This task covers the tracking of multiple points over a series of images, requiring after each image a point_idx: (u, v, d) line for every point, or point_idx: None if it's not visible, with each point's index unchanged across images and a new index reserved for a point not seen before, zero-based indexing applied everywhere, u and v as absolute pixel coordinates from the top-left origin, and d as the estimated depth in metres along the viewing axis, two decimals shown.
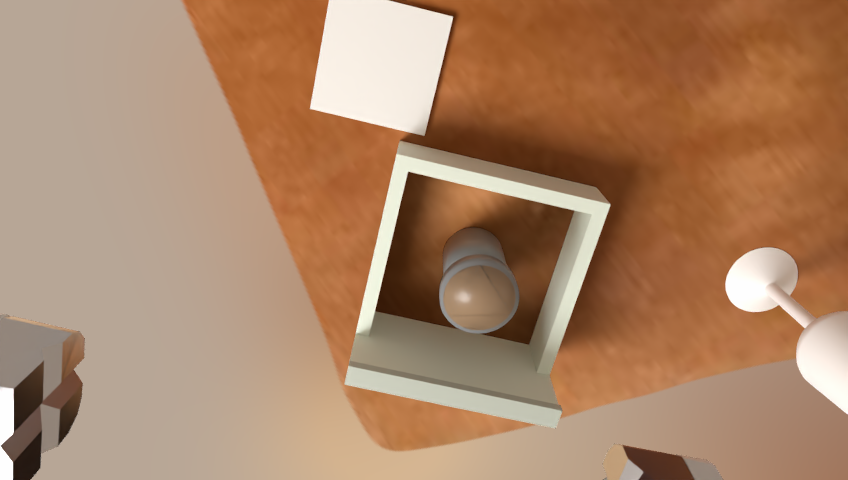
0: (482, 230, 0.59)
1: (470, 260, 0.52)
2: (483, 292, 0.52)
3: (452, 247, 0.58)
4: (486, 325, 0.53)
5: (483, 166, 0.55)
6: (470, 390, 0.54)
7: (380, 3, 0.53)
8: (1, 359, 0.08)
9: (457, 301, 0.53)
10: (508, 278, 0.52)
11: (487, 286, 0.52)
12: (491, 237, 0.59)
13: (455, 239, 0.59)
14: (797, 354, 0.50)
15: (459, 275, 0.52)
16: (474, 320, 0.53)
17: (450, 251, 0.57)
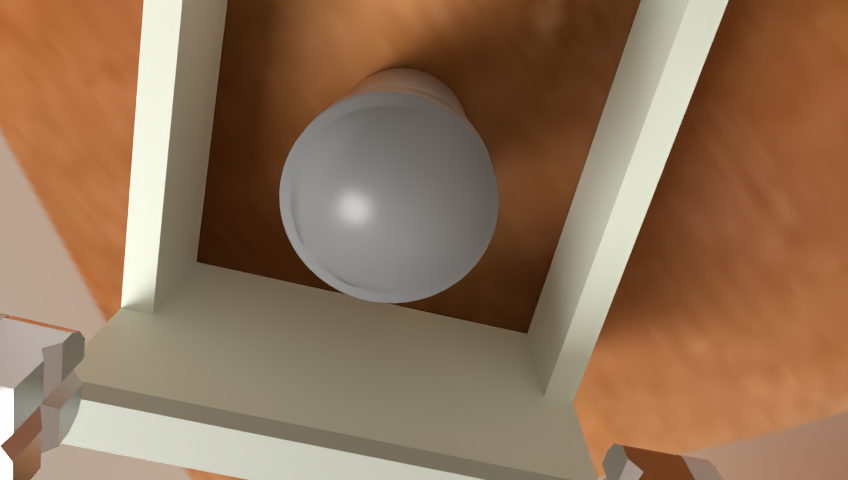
0: (420, 72, 0.26)
1: (360, 95, 0.18)
2: (400, 187, 0.19)
3: None
4: (412, 281, 0.20)
5: None
6: (371, 453, 0.20)
7: None
8: (1, 359, 0.08)
9: (328, 214, 0.19)
10: (467, 146, 0.18)
11: (409, 170, 0.19)
12: (439, 84, 0.25)
13: (355, 88, 0.25)
14: None
15: (329, 137, 0.18)
16: (378, 268, 0.20)
17: None
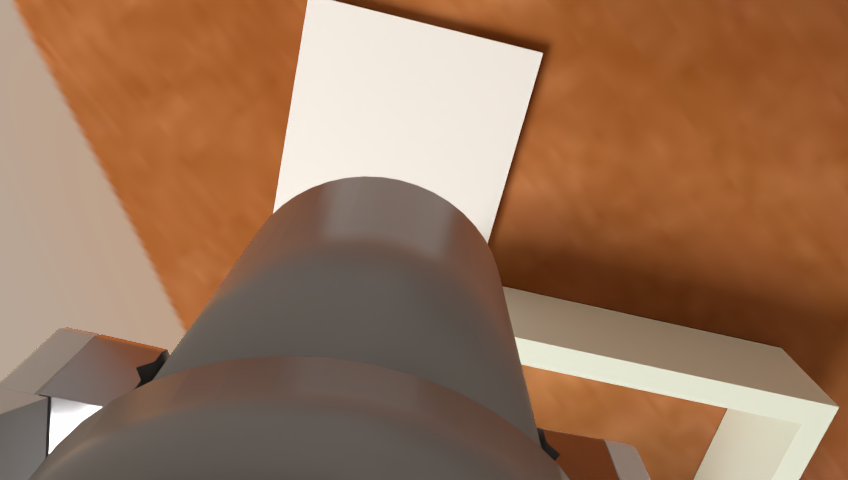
0: (405, 189, 0.13)
1: (164, 438, 0.05)
2: None
3: (229, 274, 0.11)
4: None
5: (591, 325, 0.30)
6: None
7: (403, 28, 0.27)
8: (100, 379, 0.08)
9: None
10: None
11: None
12: (445, 221, 0.12)
13: (266, 230, 0.12)
14: None
15: None
16: None
17: (212, 296, 0.10)
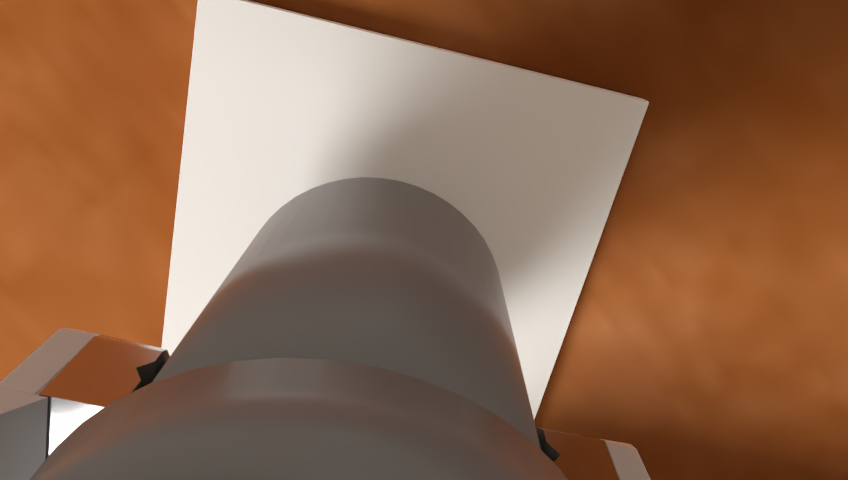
0: (405, 190, 0.13)
1: (164, 440, 0.05)
2: None
3: (229, 275, 0.11)
4: None
5: None
6: None
7: (383, 54, 0.14)
8: (100, 379, 0.08)
9: None
10: None
11: None
12: (445, 222, 0.12)
13: (266, 231, 0.12)
14: None
15: None
16: None
17: (212, 297, 0.10)
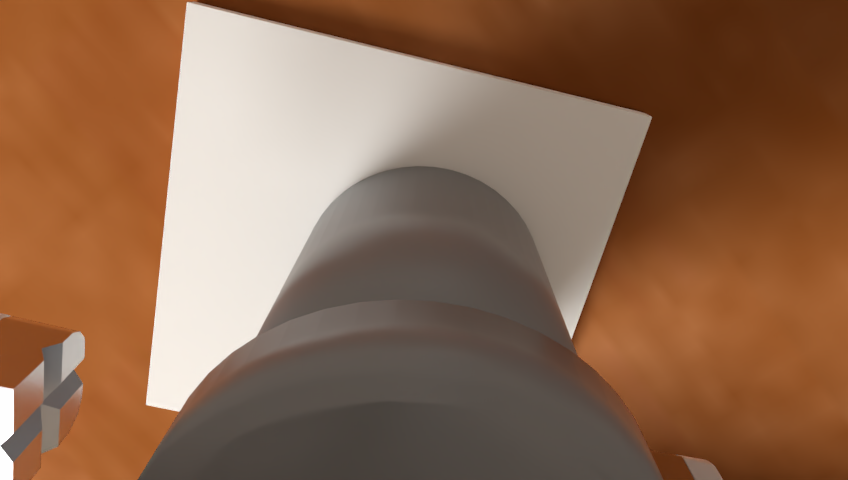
0: (457, 177, 0.14)
1: (321, 354, 0.06)
2: None
3: (307, 249, 0.12)
4: None
5: None
6: None
7: (378, 68, 0.14)
8: (2, 359, 0.08)
9: None
10: None
11: None
12: (495, 205, 0.13)
13: (335, 212, 0.13)
14: None
15: (230, 476, 0.06)
16: None
17: (295, 267, 0.12)
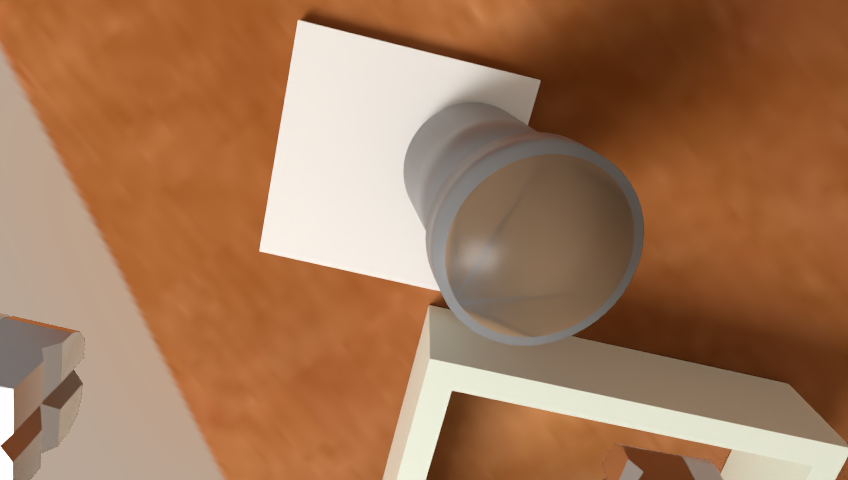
0: (495, 107, 0.26)
1: (521, 143, 0.18)
2: (554, 233, 0.19)
3: (436, 139, 0.24)
4: (554, 323, 0.20)
5: (592, 362, 0.29)
6: None
7: (396, 54, 0.26)
8: (1, 359, 0.08)
9: (482, 262, 0.19)
10: (621, 191, 0.19)
11: (565, 216, 0.19)
12: None
13: (439, 124, 0.25)
14: None
15: (493, 185, 0.18)
16: (523, 312, 0.20)
17: (434, 147, 0.23)
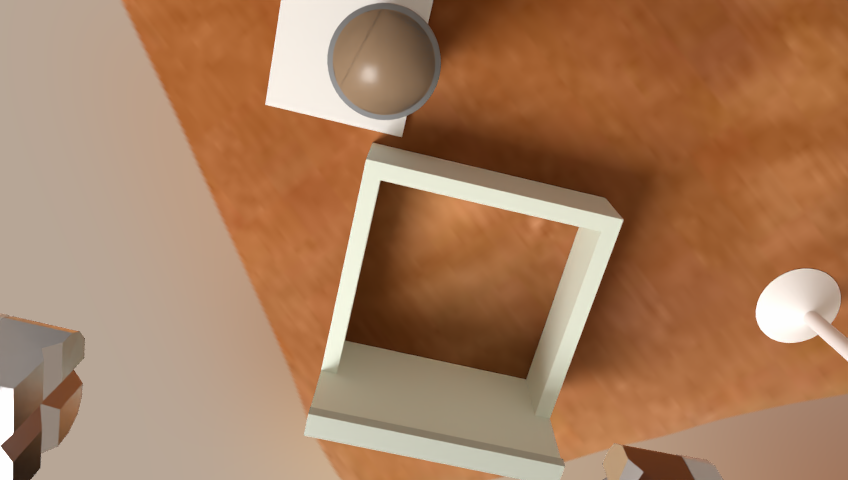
0: None
1: None
2: (390, 53, 0.37)
3: None
4: (394, 107, 0.38)
5: (471, 173, 0.47)
6: (455, 442, 0.45)
7: None
8: (1, 359, 0.08)
9: (352, 67, 0.37)
10: (425, 32, 0.36)
11: (395, 44, 0.36)
12: None
13: None
14: None
15: (354, 25, 0.36)
16: (377, 99, 0.38)
17: None
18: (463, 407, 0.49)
